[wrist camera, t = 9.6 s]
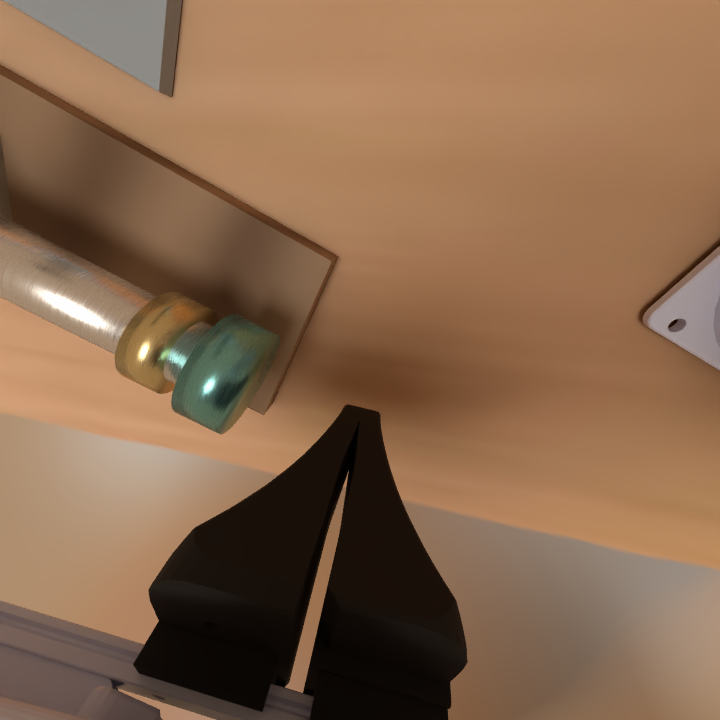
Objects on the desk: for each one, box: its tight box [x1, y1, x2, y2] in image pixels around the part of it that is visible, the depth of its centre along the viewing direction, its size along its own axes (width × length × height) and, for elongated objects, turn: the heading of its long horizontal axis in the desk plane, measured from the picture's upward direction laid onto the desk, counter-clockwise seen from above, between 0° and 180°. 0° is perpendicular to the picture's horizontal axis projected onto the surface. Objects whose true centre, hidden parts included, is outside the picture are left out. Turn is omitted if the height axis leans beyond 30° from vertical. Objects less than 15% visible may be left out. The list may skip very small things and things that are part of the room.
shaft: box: [0, 215, 280, 434], centre depth 10 cm, size 15×4×4 cm, turn 63°
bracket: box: [0, 65, 338, 415], centre depth 11 cm, size 19×9×6 cm, turn 63°
